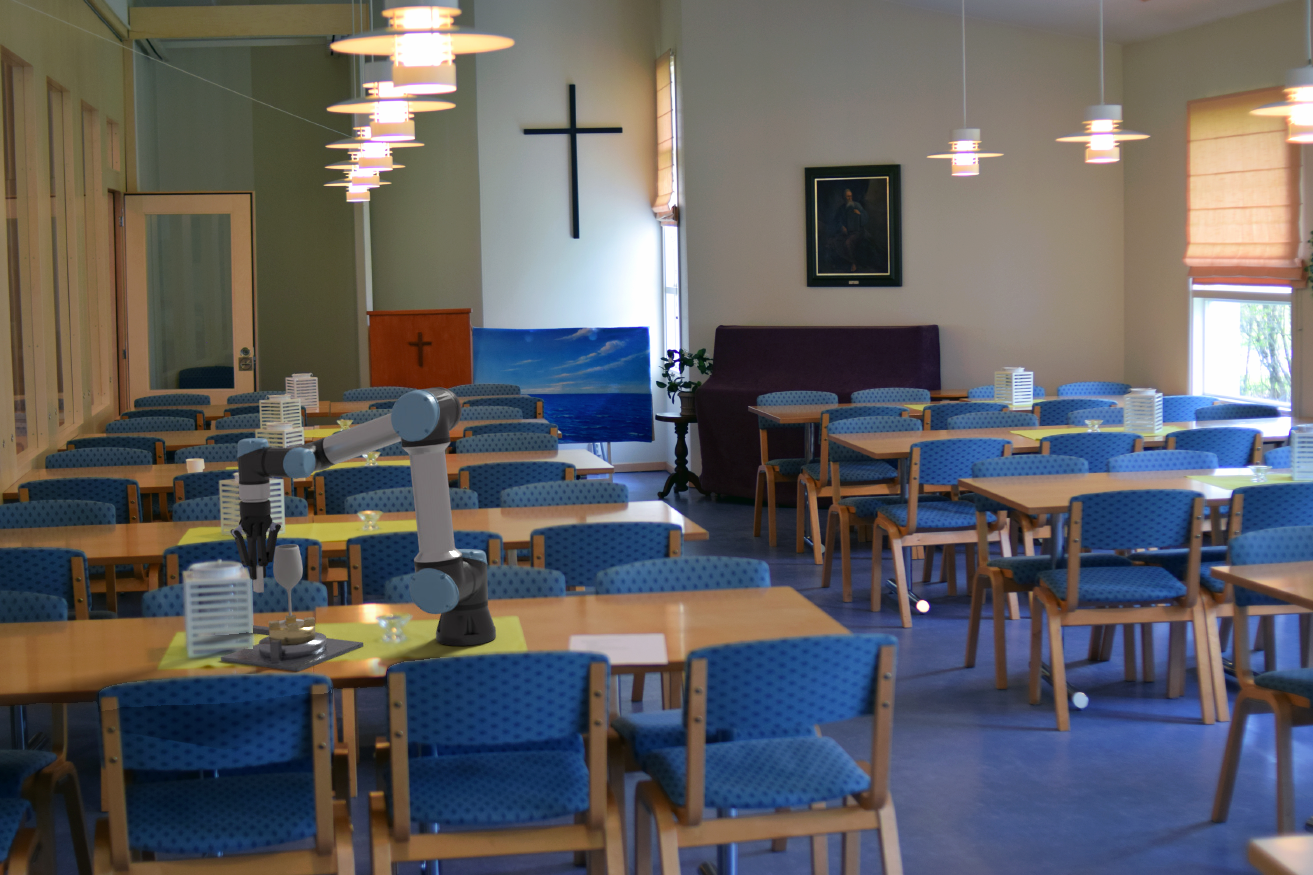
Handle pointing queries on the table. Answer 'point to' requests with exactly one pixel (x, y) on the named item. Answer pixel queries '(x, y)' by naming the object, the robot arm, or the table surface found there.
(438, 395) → the robot arm
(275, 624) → the tan handled round piece
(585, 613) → the table surface
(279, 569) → the wineglass
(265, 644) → the housing
